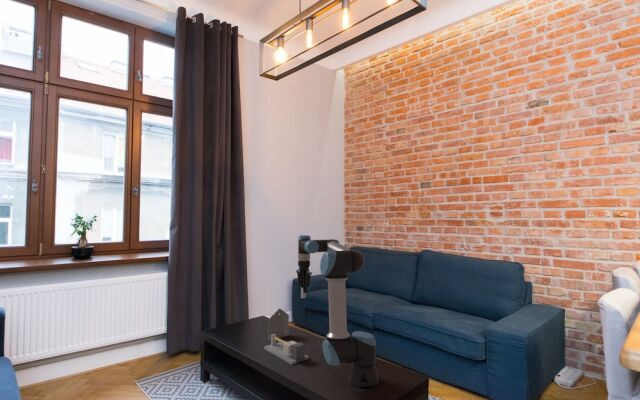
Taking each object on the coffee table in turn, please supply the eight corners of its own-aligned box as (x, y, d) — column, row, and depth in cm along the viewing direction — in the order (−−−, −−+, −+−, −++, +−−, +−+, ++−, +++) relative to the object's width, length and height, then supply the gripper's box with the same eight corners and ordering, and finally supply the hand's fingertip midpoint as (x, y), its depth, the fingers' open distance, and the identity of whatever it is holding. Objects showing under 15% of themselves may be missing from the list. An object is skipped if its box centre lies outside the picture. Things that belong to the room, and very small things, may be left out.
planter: (281, 332, 245) (282, 303, 245) (288, 335, 239) (289, 306, 240) (261, 337, 234) (262, 308, 234) (268, 341, 228) (269, 310, 228)
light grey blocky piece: (308, 358, 202) (308, 342, 202) (291, 364, 194) (291, 348, 195) (280, 344, 223) (280, 329, 224) (264, 349, 216) (264, 334, 216)
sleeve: (297, 350, 204) (297, 343, 204) (288, 353, 200) (288, 345, 200) (292, 348, 208) (292, 340, 208) (283, 351, 203) (283, 343, 204)
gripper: (315, 260, 221) (314, 298, 221) (302, 258, 231) (301, 294, 230) (306, 261, 216) (305, 300, 216) (293, 259, 226) (292, 296, 225)
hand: (303, 297), depth 223 cm, fingers closed
